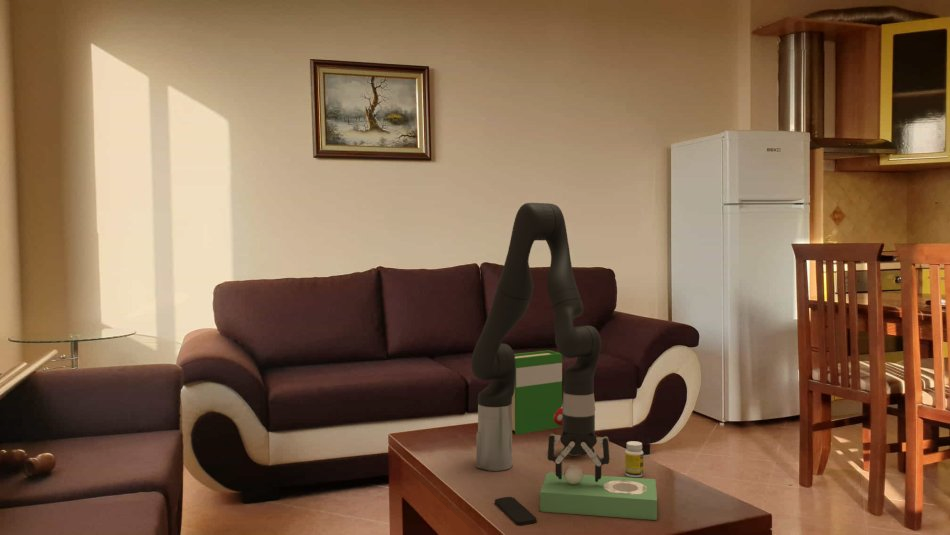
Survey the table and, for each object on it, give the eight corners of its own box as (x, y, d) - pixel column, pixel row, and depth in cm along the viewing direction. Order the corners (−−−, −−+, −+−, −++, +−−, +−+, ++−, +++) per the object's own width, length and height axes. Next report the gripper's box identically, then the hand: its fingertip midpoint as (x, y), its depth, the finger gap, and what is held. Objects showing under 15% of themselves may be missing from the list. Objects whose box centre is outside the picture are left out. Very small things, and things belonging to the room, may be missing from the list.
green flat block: (540, 511, 173) (540, 492, 172) (547, 490, 186) (547, 472, 186) (656, 520, 167) (657, 500, 167) (655, 497, 181) (655, 479, 181)
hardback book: (516, 434, 236) (516, 358, 234) (503, 429, 242) (503, 355, 241) (561, 427, 244) (562, 353, 243) (548, 421, 251) (548, 350, 249)
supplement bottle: (643, 478, 195) (643, 446, 194) (624, 477, 196) (625, 445, 195) (643, 472, 199) (643, 441, 199) (624, 471, 200) (625, 440, 200)
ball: (563, 486, 176) (563, 467, 176) (564, 480, 180) (564, 462, 180) (582, 487, 175) (582, 469, 175) (583, 481, 179) (583, 463, 179)
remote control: (538, 527, 166) (512, 501, 180) (538, 519, 166) (512, 494, 180) (517, 530, 164) (493, 504, 178) (517, 522, 164) (493, 496, 178)
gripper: (546, 413, 174) (546, 482, 175) (608, 416, 171) (608, 487, 172) (550, 406, 182) (550, 472, 182) (610, 409, 178) (609, 476, 179)
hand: (578, 479), depth 177 cm, fingers open, 8 cm apart
